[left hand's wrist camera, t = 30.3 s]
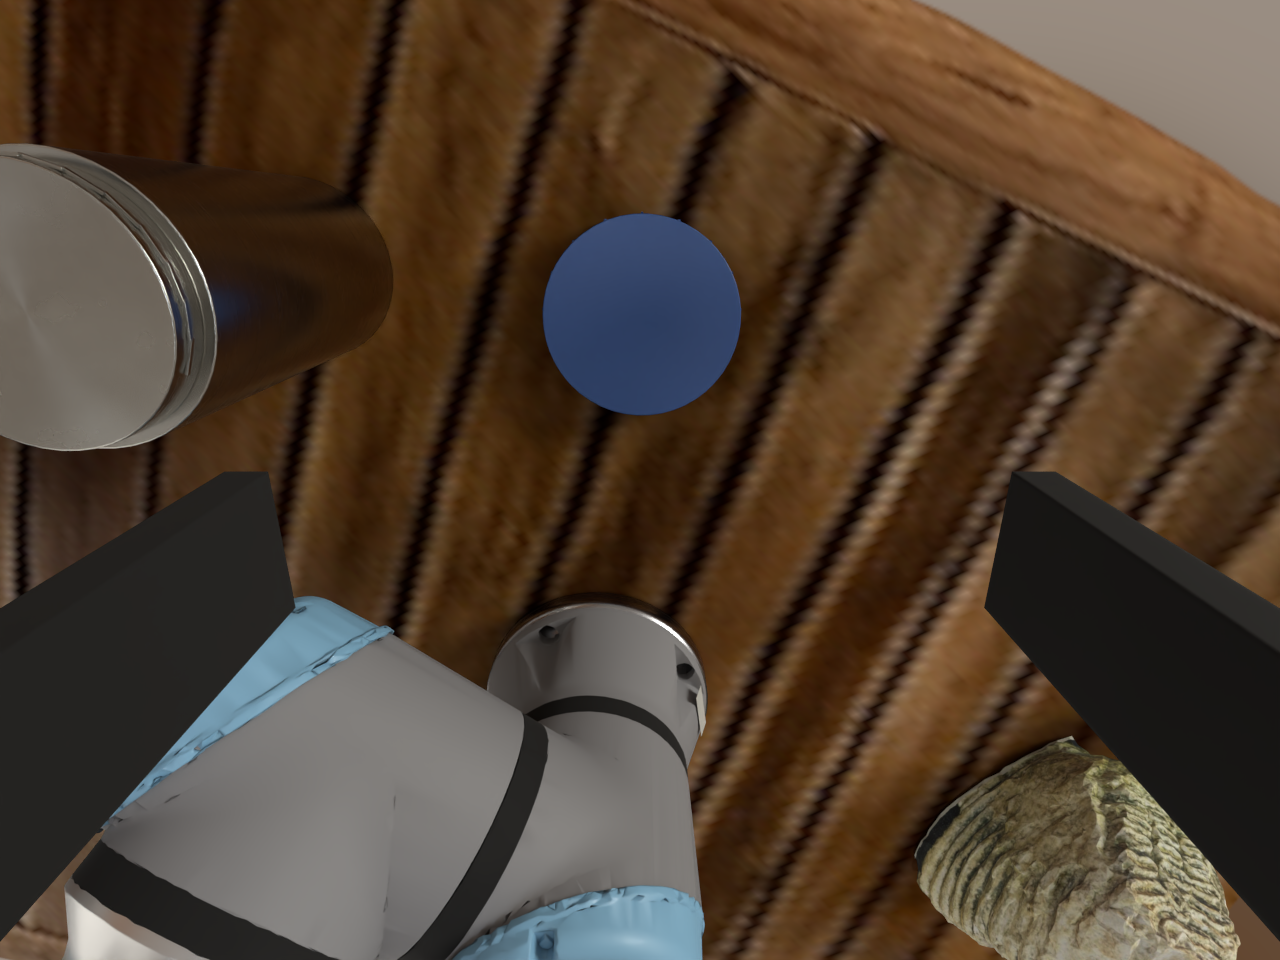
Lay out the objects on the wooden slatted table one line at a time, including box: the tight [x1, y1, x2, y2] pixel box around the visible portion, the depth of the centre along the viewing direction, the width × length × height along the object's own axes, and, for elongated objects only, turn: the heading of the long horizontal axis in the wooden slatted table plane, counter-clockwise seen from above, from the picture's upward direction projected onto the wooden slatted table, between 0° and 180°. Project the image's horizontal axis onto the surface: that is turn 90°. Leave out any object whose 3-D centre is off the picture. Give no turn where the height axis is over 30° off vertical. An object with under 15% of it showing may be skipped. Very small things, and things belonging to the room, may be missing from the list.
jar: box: [0, 144, 393, 451], centre depth 30 cm, size 10×10×19 cm
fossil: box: [914, 736, 1240, 960], centre depth 46 cm, size 9×18×15 cm, turn 153°
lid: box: [542, 212, 741, 415], centre depth 40 cm, size 11×11×2 cm
